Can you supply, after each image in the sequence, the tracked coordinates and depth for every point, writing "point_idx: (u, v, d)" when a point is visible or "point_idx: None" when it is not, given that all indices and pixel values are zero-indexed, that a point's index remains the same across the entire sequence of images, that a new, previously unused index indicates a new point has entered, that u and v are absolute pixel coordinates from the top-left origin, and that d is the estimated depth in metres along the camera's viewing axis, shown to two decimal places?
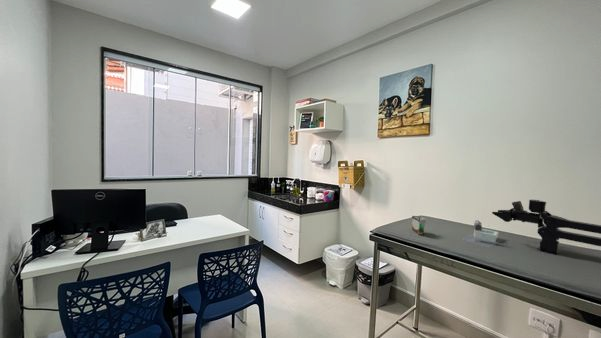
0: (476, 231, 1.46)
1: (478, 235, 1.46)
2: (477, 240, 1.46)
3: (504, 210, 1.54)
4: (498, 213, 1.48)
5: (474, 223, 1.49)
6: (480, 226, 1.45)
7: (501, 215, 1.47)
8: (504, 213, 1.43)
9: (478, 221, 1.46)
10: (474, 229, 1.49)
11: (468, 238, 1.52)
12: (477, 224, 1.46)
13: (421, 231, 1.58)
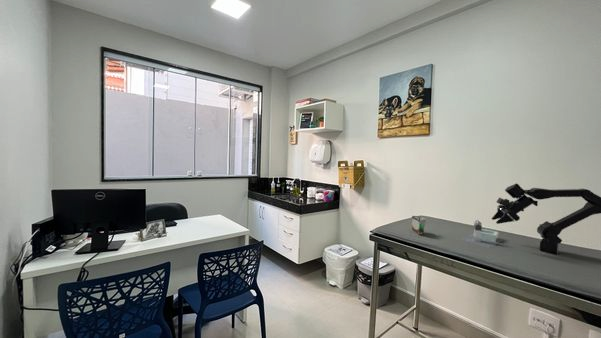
0: (476, 231, 1.46)
1: (478, 235, 1.46)
2: (477, 240, 1.46)
3: (495, 214, 1.47)
4: (502, 219, 1.38)
5: (474, 223, 1.49)
6: (480, 226, 1.45)
7: (506, 219, 1.37)
8: (509, 214, 1.33)
9: (478, 221, 1.46)
10: (474, 229, 1.49)
11: (468, 238, 1.52)
12: (477, 224, 1.46)
13: (421, 231, 1.58)
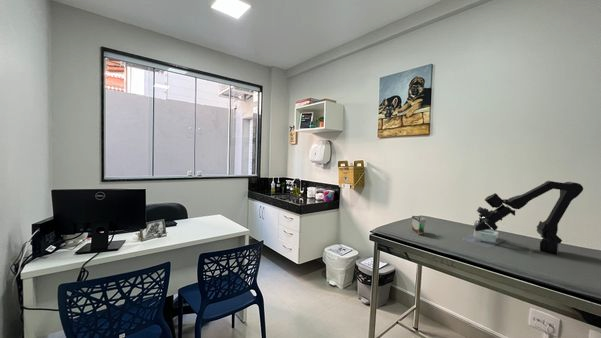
0: (476, 231, 1.46)
1: (478, 235, 1.46)
2: (477, 240, 1.46)
3: None
4: (480, 227, 1.44)
5: (474, 223, 1.49)
6: None
7: (484, 226, 1.43)
8: (487, 224, 1.38)
9: (478, 221, 1.46)
10: (474, 229, 1.49)
11: (468, 238, 1.52)
12: (477, 224, 1.46)
13: (421, 231, 1.58)
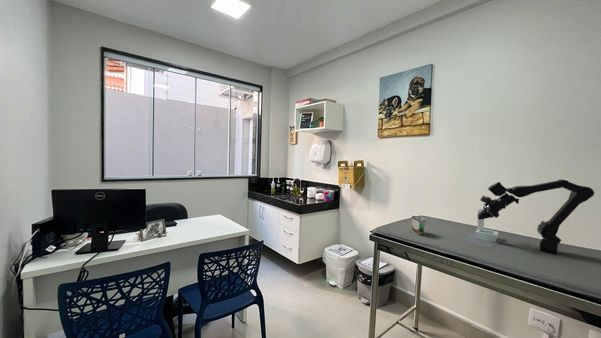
0: None
1: (481, 223, 1.48)
2: (480, 228, 1.48)
3: None
4: (483, 215, 1.46)
5: (478, 212, 1.51)
6: None
7: (487, 215, 1.45)
8: (489, 211, 1.39)
9: (481, 210, 1.48)
10: None
11: (468, 238, 1.52)
12: (480, 212, 1.48)
13: (421, 231, 1.58)
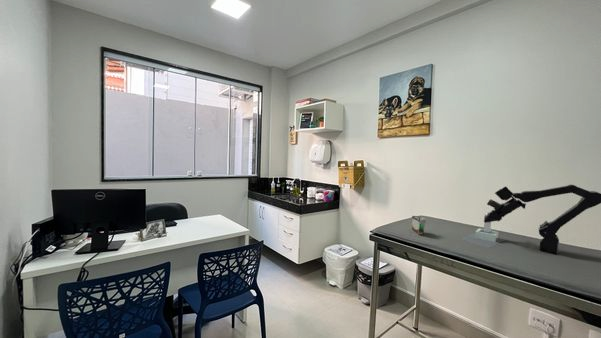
0: None
1: (487, 226, 1.51)
2: (486, 231, 1.52)
3: None
4: (488, 218, 1.49)
5: None
6: None
7: (492, 218, 1.48)
8: (491, 214, 1.44)
9: (487, 213, 1.51)
10: None
11: (468, 238, 1.52)
12: (486, 216, 1.51)
13: (421, 231, 1.58)
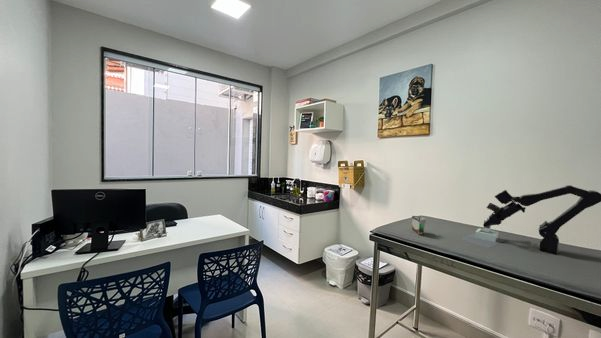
0: (484, 228, 1.52)
1: (486, 232, 1.51)
2: None
3: None
4: (487, 222, 1.49)
5: None
6: None
7: (491, 222, 1.48)
8: (490, 218, 1.44)
9: (487, 219, 1.52)
10: None
11: (468, 238, 1.52)
12: (485, 222, 1.52)
13: (421, 231, 1.58)
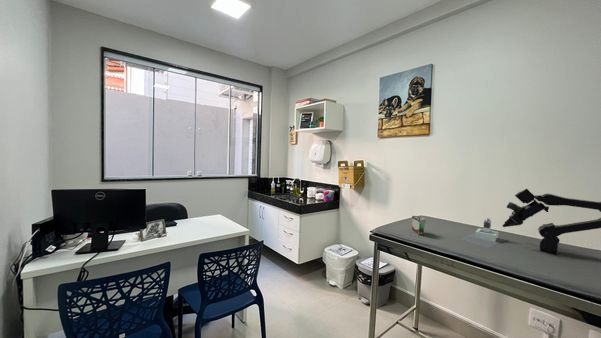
0: (484, 228, 1.52)
1: (486, 232, 1.51)
2: None
3: (508, 219, 1.49)
4: (507, 222, 1.41)
5: None
6: (488, 224, 1.51)
7: (511, 222, 1.40)
8: (511, 218, 1.37)
9: (487, 219, 1.52)
10: None
11: (468, 238, 1.52)
12: (485, 222, 1.52)
13: (421, 231, 1.58)
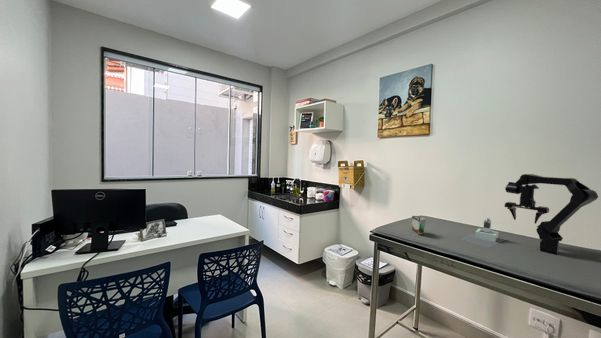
0: (484, 228, 1.52)
1: (486, 232, 1.51)
2: None
3: None
4: None
5: None
6: (488, 224, 1.51)
7: None
8: None
9: (487, 219, 1.52)
10: None
11: (468, 238, 1.52)
12: (485, 222, 1.52)
13: (421, 231, 1.58)
